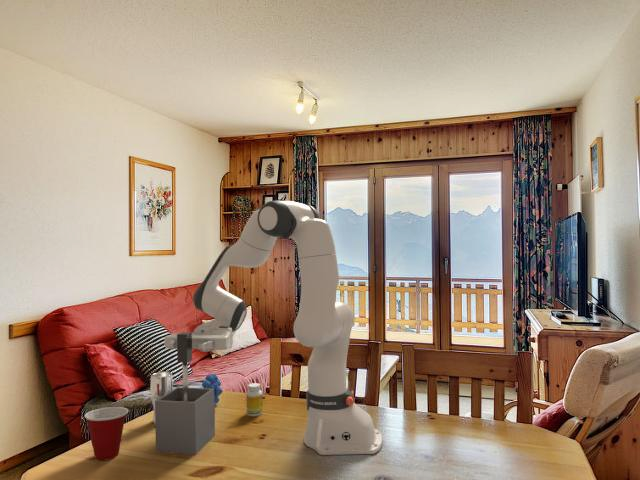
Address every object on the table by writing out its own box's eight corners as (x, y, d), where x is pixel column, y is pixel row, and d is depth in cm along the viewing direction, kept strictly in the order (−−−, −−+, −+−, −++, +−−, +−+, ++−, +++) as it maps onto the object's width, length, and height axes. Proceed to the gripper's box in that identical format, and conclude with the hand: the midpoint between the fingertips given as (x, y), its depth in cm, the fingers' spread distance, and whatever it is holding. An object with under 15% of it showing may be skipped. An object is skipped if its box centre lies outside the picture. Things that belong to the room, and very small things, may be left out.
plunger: (207, 404, 130) (206, 330, 130) (193, 416, 121) (191, 337, 121) (179, 403, 131) (177, 329, 132) (162, 414, 122) (161, 336, 123)
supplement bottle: (246, 411, 149) (245, 383, 149) (262, 409, 150) (261, 381, 150) (247, 417, 144) (246, 388, 144) (263, 415, 145) (262, 386, 145)
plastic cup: (138, 449, 123) (137, 406, 123) (107, 468, 113) (106, 421, 113) (108, 444, 126) (107, 402, 127) (75, 461, 116) (74, 416, 116)
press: (215, 435, 131) (214, 388, 131) (196, 454, 119) (195, 403, 119) (178, 433, 133) (177, 387, 133) (155, 451, 121) (154, 401, 121)
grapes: (214, 414, 147) (214, 378, 147) (196, 413, 148) (196, 377, 148) (230, 402, 158) (229, 369, 158) (213, 401, 160) (212, 368, 160)
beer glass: (159, 426, 138) (158, 379, 138) (146, 421, 142) (145, 375, 142) (178, 419, 143) (177, 373, 144) (165, 414, 148) (164, 370, 148)
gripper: (177, 326, 142) (153, 335, 129) (236, 327, 138) (218, 336, 125) (177, 346, 142) (153, 357, 129) (237, 347, 138) (218, 359, 125)
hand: (185, 347), depth 127 cm, fingers open, 8 cm apart
